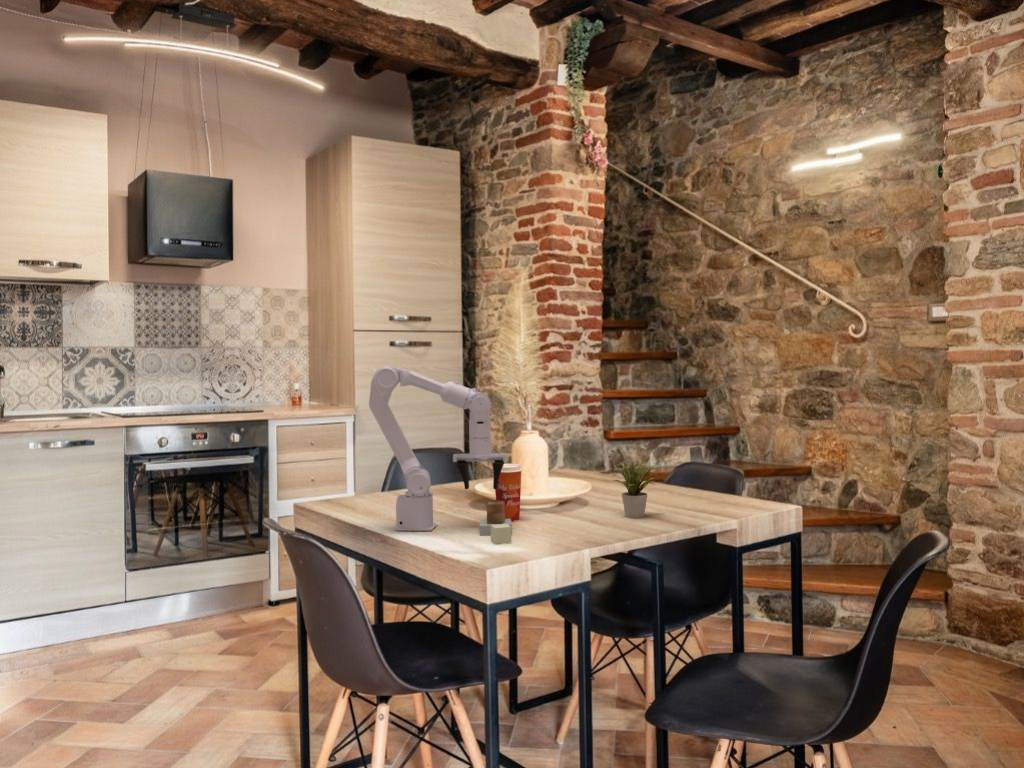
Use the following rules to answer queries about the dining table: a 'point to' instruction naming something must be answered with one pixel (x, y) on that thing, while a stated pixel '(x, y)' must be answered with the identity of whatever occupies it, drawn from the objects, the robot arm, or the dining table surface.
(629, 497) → the house plant
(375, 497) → the dining table surface
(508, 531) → the sage block
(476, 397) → the robot arm
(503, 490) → the coffee cup
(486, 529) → the base block
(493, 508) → the walnut block
